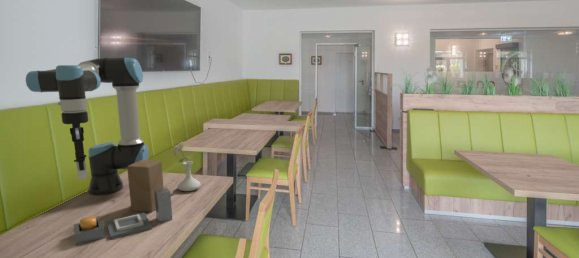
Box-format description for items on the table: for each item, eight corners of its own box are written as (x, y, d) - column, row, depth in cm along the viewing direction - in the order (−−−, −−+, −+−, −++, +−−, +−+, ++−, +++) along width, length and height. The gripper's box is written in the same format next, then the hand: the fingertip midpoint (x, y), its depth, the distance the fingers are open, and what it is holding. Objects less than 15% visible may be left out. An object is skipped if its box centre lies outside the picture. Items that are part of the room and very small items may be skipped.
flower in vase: (191, 183, 175) (188, 137, 170) (205, 187, 169) (203, 140, 164) (169, 190, 165) (166, 141, 160) (184, 196, 158) (181, 145, 153)
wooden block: (151, 212, 140) (147, 167, 137) (131, 210, 142) (126, 165, 139) (165, 203, 150) (161, 160, 146) (145, 201, 152) (141, 159, 148)
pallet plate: (106, 224, 130) (105, 218, 130) (144, 215, 138) (144, 210, 138) (110, 239, 119) (110, 233, 118) (152, 228, 127) (151, 223, 126)
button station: (75, 234, 122) (73, 224, 122) (102, 227, 127) (101, 218, 127) (75, 245, 115) (74, 234, 114) (105, 237, 120) (104, 227, 119)
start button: (80, 226, 121) (79, 218, 121) (96, 222, 124) (95, 215, 123) (81, 231, 117) (80, 223, 117) (97, 228, 120) (96, 220, 119)
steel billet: (156, 218, 135) (154, 190, 133) (169, 215, 138) (167, 187, 136) (159, 222, 131) (157, 194, 129) (172, 219, 134) (170, 191, 132)
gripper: (61, 109, 117) (69, 173, 121) (60, 115, 104) (70, 186, 109) (85, 108, 121) (93, 169, 125) (88, 113, 108) (96, 181, 113)
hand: (82, 177), depth 117 cm, fingers open, 3 cm apart
